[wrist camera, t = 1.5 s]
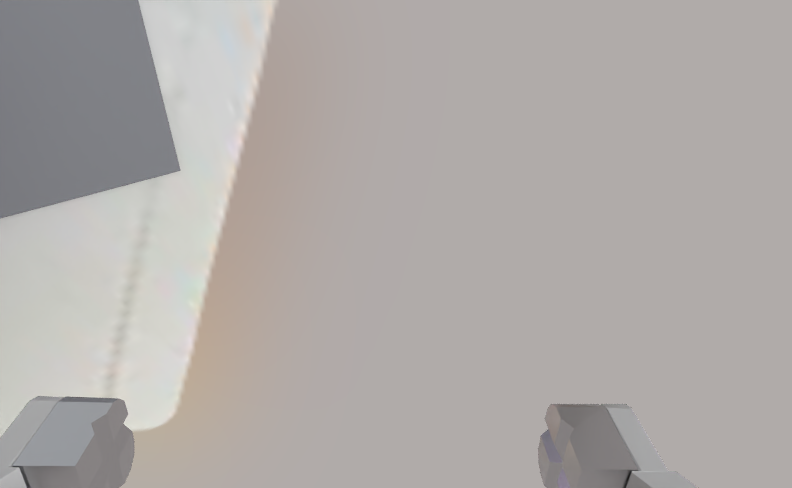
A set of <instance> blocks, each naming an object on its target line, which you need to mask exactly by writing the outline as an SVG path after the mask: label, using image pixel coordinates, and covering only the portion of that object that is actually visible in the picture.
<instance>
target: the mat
mask: <svg viewBox="0 0 792 488" xmlns="http://www.w3.org/2000/svg"><path fill="white" fill-rule="evenodd" d="M177 171H180V167H179V163H178V159H177V155H176V151H175V147H174V143H173V139H172V135H171V131H170V127H169V122H168V118H167V114H166V110H165V106H164V102H163V98H162V94H161V90H160V86H159V82H158V78H157V74H156V70H155V66H154V62H153V58H152V54H151V50H150V46H149V42H148V38H147V34H146V30H145V26H144V22H143V18H142V14H141V10H140V6H139V2H138V0H0V218H3V217H7V216H11V215H15V214H18V213H22V212H26V211H30V210H34V209H37V208H41V207H45V206H49V205H52V204H56V203H60V202H64V201H68V200H71V199H75V198H79V197H83V196H87V195H90V194H94V193H98V192H102V191H105V190H109V189H113V188H117V187H121V186H124V185H128V184H132V183H136V182H139V181H143V180H147V179H151V178H155V177H158V176H162V175H166V174H170V173H173V172H177Z"/></svg>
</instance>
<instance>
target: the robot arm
mask: <svg viewBox="0 0 792 488" xmlns="http://www.w3.org/2000/svg"><path fill="white" fill-rule="evenodd" d="M127 415H128V412H127V409H126V405H125V402H124V401H123V400H121V399H115V398H88V397H46V396H38V397H36V398H34V399H32V400H30V401H29V402H28V403H27V405H26V406H25V407H24V409H23V410H22V411H21V412H20V414H19V415H18V416H17V417H16V419H15V420H14V421H13V422H12V424H11V425H10V426H9V428H8V429H7V430H6V431H5V433H4V434H3V435H2V436H1V438H0V488H119V487H120V486H122V485H123V484H124V483H125V481H126V478H127V477H128V474H129V472H130V470H131V466H132V462H133V457H134V438H133V433H132V431H131V430H130V429H129V428H127V427H126V426H125V425H124V424H123V423H124V421H125V419H126V417H127ZM545 421H546V423H547V426H548V430H547V431H546V432H544V433H543V434H542V435H541V438H540V443H539V448H538V458H539V468H540V473H541V476H542V480H543V483H544V486H545V487H547V488H699V487H697V486H696V485H694V484H693V483H692V482H690V481H689V480H687V479H686V478H685V477H683V476H682V475H680V474H679V473H678V472H676V471H668V470H667V468H666V466H665V464H664V463H663V461H662V459H661V458H660V456H659V454H658V452H657V451H656V449H655V447H654V446H653V444H652V443H651V441H650V439H649V437H648V435H647V434H646V432H645V430H644V429H643V427H642V425H641V424H640V422H639V420H638V418H637V417H636V415H635V413H634V412H633V410H632V408H631V407H629V406H628V405H627V404H601V405H599V404H551V405H550V406H549V407H548V409H547V412H546V416H545Z"/></svg>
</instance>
